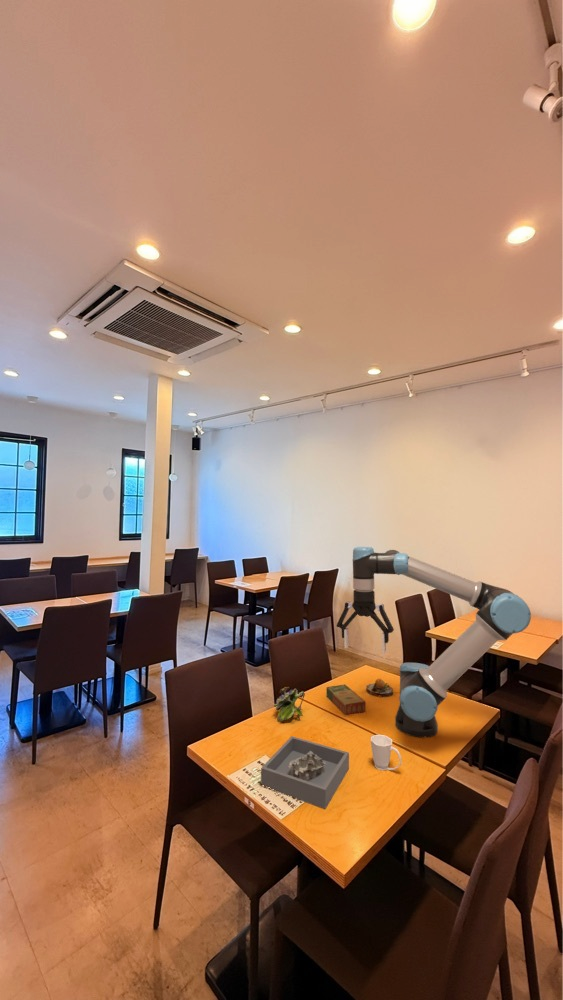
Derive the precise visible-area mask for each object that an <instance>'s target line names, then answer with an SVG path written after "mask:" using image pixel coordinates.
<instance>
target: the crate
mask: <svg viewBox="0 0 563 1000" xmlns="http://www.w3.org/2000/svg"><path fill="white" fill-rule="evenodd" d="M309 751H312V752H313V753H314V754H316V755H317V756H319V758H322V760H323V761H324V762H326V763H325V766H323V774H320V773H318V774H316V778H309V782H308V781H305V780H302V779H299V778H296V777H293V776H291V767H290V768H289V764H290V762H291V761H292V760H296V759H297V758H299V757H301V756H304V755H306V754H307V753H308V752H309ZM349 770H350V752H349V751H345V750H341V749H337V748H335V747H331V746H328V745H325V744H324V745H323V744H320V743H317V742H313V741H310V740H307V739H303V738H299V737H297V736H293V735H292V736H291V735H290V737H289V738H288V739H287V740H286V741H285V742H284V743H283V744H282V746H280V748H278V749H277V751H275V753H274V754H273V755H272V756H271V757H270V758H269V759H268V760H267V761H266V762H265V763H264V764H263V766H261V768H260V785H261V784H262V785H264V786H267V787H270V788H271V789H274V790H276V791H275V792H277V791H279V792H281V793H280V794H282V793H284V794H283V795H285V794H286V796H288V795H289V796H288V797H290V796H292V797H291V798H293V797H294V799H296V798H297V799H296V800H299V799H300V800H299V801H301V800H302V802H304V803H307V804H310V805H313V806H315V807H318V808H321V809H324V810H326V808H327V807H328V806H329V804H330V802H331V801H332V798H333V797H334V795H335V794H336V792H337V790H338V788H339V787H340V785H341V784H342V782H343V780H344V778H345V777H346V774H347V773H348V771H349ZM271 789H270V790H271ZM274 790H273V791H274ZM279 792H278V793H279Z"/></svg>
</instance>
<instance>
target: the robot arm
mask: <svg viewBox="0 0 563 1000" xmlns="http://www.w3.org/2000/svg"><path fill="white" fill-rule="evenodd" d="M375 574H377V575H378V574H379V575H380V574H382V575H398V576H399V575H402V576H404V577H407V578H410V579H412V580H414V581H417V582H419V583H422V584H423V585H427V586H429V587H431V588H434V589H436V590H439V591H441V592H443V593H446V594H448V595H451V596H452V597H456V598H458V599H460V600H463V601H465V602H467V603H468V604H469V605H470V606H471V607H472V608H475V609H477V611H476V612H475V621H474V622H472V623H471V625H470V626H468V627H467V629H465V631H464V632H463V633H462V634H460V635H459V637H458V638H456V639H455V640H454V641H453V643H452V644H450V646H448V647H447V648H446V649H445V650H444V651H443V652H442V653H441V654H440V655H439V656H438V657H437V658H436V659H435V660H434V661H433V662H432V663H431V664H430V665H428V664H425V663H420V662H419V663H418V662H403V663H401V664H400V665H399V705H398V709H397V711H396V714H395V717H394V718H395V719H394V720H395V723H394V724H395V725H394V726H395V727H396V728H397V729H398V730H399V731H400V732H402V733H403V734H405V735H408V736H412V737H416V738H431V737H434V736H435V735H437V734H438V730H439V729H438V728H439V727H438V721H437V718H436V714H437V712H438V707H439V705H441V704H442V702H443V701H444V700H445V699H447V698H448V695H447V694H448V693H447V690H448V689H449V688H450V687H451V686H452V685H453V684H454V683H456V682H457V680H459V678H460V677H462V676H463V674H465V673H466V672H467V671H468V670H469V669H470V668H471V667H472V666H473V665H474V664H475V663H476V662H477V661H478V660H480V659H481V658H482V656H484V654H485V653H487V652H488V651H489V650H490V649H492V646H494V645H495V644H496V643H497V642H499V641H506V640H508V639H509V638H510V637H511V636H512V635H513V634H519V633H522V632H523V631H525V630H526V629H527V628H528V626H530V623H531V619H532V613H531V610H530V609H531V608H530V607H529V605H528V604H527V603H526V602H525V601H526V600H524V599H523V598H522V597H520V596H519V595H518V594H515V593H514V592H512V591H510V590H508V589H506V588H502V587H499V586H494V585H491V584H489V583H485V582H482V581H477V582H475V581H473V580H470V579H469V578H465V577H462V576H460V575H457V574H455V573H452V572H450V571H447V570H445V569H442V568H440V567H438V566H434V565H432V564H429V563H427V562H425V561H422V560H419V559H417V558H414V557H411V556H409V555H408V553H405V552H400V551H398V550H396V549H389V550H386V551H385V552H375V551H374V547H372V546H370V547H369V546H357V547H354V548H353V550H352V583H353V585H352V587H353V589H354V590H353V591H352V592H353V593H352V596H353V601H352V602H350V601H346V602H345V603H344V609H343V611H342V613H341V615H340V617H339V619H338V621H337V623H336V627H337V628H340V629H341V638H342V639H343V640H344V643H343V645H344V649H347V648H348V647H349V628H347V627H348V626H349V625H350V624H351V622H353V620H354V619H355V618H356V617H357V615H358V617H366V618H368V617H370V618H371V619H373V621H374V622H375V623H376V624H377V626H378V627H379V629H380V630H381V631H382V633H381V649H382V650H381V652H382V654H385V653H386V651H387V645H386V644H388V643H389V637H390V636H389V634H390V633H391V634H392V633H393V632H394V630H395V629H394V627H393V625H392V623H391V621H390V618H389V617H388V615H387V612H386V611H385V605H384V604H383V603H381V604H376V603H375V602H376V601H375V599H376V598H375V591H374V590H375ZM470 606H469V607H470ZM351 608H353V610H354V612H353V613H352V614H351V615H350V616H349V618H348V619H347V620H346V621H345V622H344V620H345V619H346V616H347V614H348V613H349V610H350V609H351ZM376 609H377V611H378V612H379V614H380V616H381V617H382V620H383V621H384V622H383V621H382V620H381V618H379V616H378V615H377V613H376V611H375V610H376ZM343 622H344V623H343Z"/></svg>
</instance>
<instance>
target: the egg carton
mask: <svg viewBox="0 0 563 1000" xmlns="http://www.w3.org/2000/svg"><path fill="white" fill-rule="evenodd" d="M325 763H326V762H324V761H323V760H322V758H319V756H317V755H316V754H314V753H313V752H312V751H309V752H308V753H307V754H306V755H304V756H301V757H299V758H297V759H296V760H292V761H291V762H290V764H289V768H290V767H291V776H293V777H296V778H299V779H302V780H305V781H308V782H309V778H316V774H318V773H320V774H323V766H325Z"/></svg>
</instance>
